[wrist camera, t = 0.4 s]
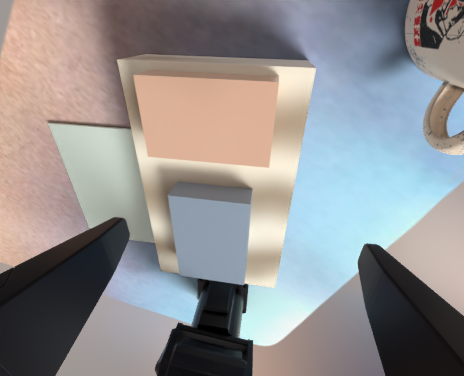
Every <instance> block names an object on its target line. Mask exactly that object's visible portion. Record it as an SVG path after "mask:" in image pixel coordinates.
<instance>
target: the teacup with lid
mask: <svg viewBox="0 0 464 376" xmlns="http://www.w3.org/2000/svg"><path fill="white" fill-rule="evenodd" d="M405 41H406V45H407V49H408V52H409V54H410V56H411V59H412V60H413V62H414V63H415V64H416V66H417V67H418V68H419V69H420V70H421V71H423V72H424V73H425V74H427V75H428V76H430V77H432V78H435V79H437V80H441V81H444V82H443V84H442V85H441V87H440V88H439V89H438V91H437V92H436V94H435V95H434V97H433V98H432V100H431V102H430V103H429V105H428V107H427V110H426V112H425V116H424V120H423V132H424V136H425V138H426V140H427V142H428V143H429V144H430V146H432V147H433V148H434V149H436V150H438V151H441V152H444V153H446V154H451V155H461V154H464V131H462V132H461V133H459V134H457V135H455V136H452V137H449V136H448V133H447V119H448V116H449V114H450V112H451V110H452V108H453V106H454V105H455V103H456V102H457V101H458V99H459V98H460V97H461V95H462V94H463V93H464V0H410V2H409V5H408V9H407V14H406V20H405Z"/></svg>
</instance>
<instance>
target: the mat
mask: <svg viewBox="0 0 464 376" xmlns="http://www.w3.org/2000/svg"><path fill="white" fill-rule="evenodd" d="M48 125H49V127H50V130H51V132H52V135H53V137H54V140H55V142H56V145H57V147H58V150H59V153H60V155H61V158H62V160H63V163H64V165H65V168H66V170H67V173H68V175H69V178H70V181H71V183H72V186H73V188H74V191H75V193H76V196H77V198H78V201H79V203H80V206H81V209H82V211H83V214H84V216H85V219H86V221H87V224H88V226H89V229H91V228H93V227H95V226H97V225H99V224H101V223H103V222H105V221H107V220H109V219H111V218H113V217H122V218H125V219H126V222H127V225H128V229H129V232H130V238H129V240H136V241H143V242H150V243H155V240H154V235H153V231H152V226H151V221H150V216H149V211H148V207H147V202H146V197H145V192H144V187H143V183H142V178H141V173H140V168H139V163H138V159H137V154H136V149H135V144H134V139H133V135H132V130H131V129H128V128H115V127H102V126H89V125H76V124H64V123H48Z"/></svg>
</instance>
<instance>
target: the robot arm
mask: <svg viewBox="0 0 464 376" xmlns="http://www.w3.org/2000/svg"><path fill="white" fill-rule="evenodd" d="M129 238H130V232H129V229H128V225H127V222H126V219H125V218H122V217H113V218H111V219H109V220H107V221H105V222H103V223H101V224H99V225H97V226H95V227H93V228H91V229H89V230H87V231H85V232H83V233H81V234H79V235H77V236H75V237H73V238H71V239H69V240H67V241H65V242H63V243H61V244H59V245H57V246H55V247H53V248H51V249H49V250H47V251H45V252H43V253H41V254H39V255H37V256H35V257H33V258H31V259H29V260H27V261H25V262H23V263H21V264H19V265H17V266H15V268H11V269H9V270H7V271H5V272H3V273H1V274H0V376H55V375H56V373H57V372H58V370H59V368H60V366H61V365H62V363H63V361H64V360H65V358H66V356H67V354H68V353H69V351H70V349H71V347H72V346H73V344H74V342H75V340H76V339H77V337H78V335H79V333H80V332H81V330H82V328H83V326H84V325H85V323H86V321H87V319H88V318H89V316H90V314H91V312H92V311H93V309H94V307H95V306H96V304H97V302H98V300H99V299H100V297H101V295H102V293H103V292H104V290H105V288H106V286H107V285H108V283H109V281H110V279H111V278H112V276H113V274H114V272H115V270H116V268H117V266H118V263H119V261H120V259H121V257H122V254H123V252H124V250H125V248H126V245H127V243H128V241H129ZM358 269H359V275H360V281H361V286H362V292H363V298H364V302H365V308H366V311H367V315H368V318H369V322H370V325H371V328H372V331H373V335H374V339H375V342H376V345H377V349H378V352H379V356H380V359H381V362H382V365H383V369H384V372H385V376H464V316H463V315H462V314H460V313H459V312H458V311H457V310H456V309H455V308H453V307H452V306H451V305H450V304H448V303H447V302H446V301H445V300H444V299H442V298H441V297H440V296H439V295H438V294H437V293H435V292H434V291H433V290H432V289H431V288H429V287H428V286H427V285H426V284H425V283H423V282H422V281H421V280H420V279H419V278H417V277H416V276H415V275H414V274H413V273H412V272H410V271H409V270H408V269H407V268H406V267H404V266H403V265H402V264H401V263H400V262H398V261H397V260H396V259H395V258H394V257H392V256H391V255H390V254H389V253H388V252H386V251H385V250H384V249H383V248H382V247H381V246H379V245H377V244H368V243H367V244H365V245H364V246H363V249H362V251H361V254H360V256H359V259H358ZM198 291H199V302H198V305H197V308H196V312H195V315H194V319H193V322H192V326H187V325H183V324H182V323H178V325H177V327H176V328H175V329H172V331H171V334H170V337H169V340H168V342H167V345H166V347H165V349H164V351H163V353H162V354H161V356H160V359H159V360H158V362H157V364H156V367H155V372H156V374H157V376H252V361H253V358H252V357H253V356H252V355H253V340H249V339H248V340H245V339H241V338H239V334H240V327H241V319H242V313H246V306H247V295H248V284H245V283H244V285H240V284H233V283H226V282H220V281H213V280H206V279H200V278H198Z"/></svg>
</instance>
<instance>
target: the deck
mask: <svg viewBox="0 0 464 376" xmlns="http://www.w3.org/2000/svg"><path fill="white" fill-rule="evenodd" d="M117 62H118V67H119V72H120V77H121V82H122V86H123V91H124V96H125V101H126V106H127V110H128V115H129V120H130V125H131V130H132V135H133V139H134V144H135V149H136V154H137V159H138V163H139V168H140V173H141V178H142V183H143V187H144V192H145V197H146V202H147V207H148V211H149V216H150V221H151V226H152V231H153V235H154V240H155V245H156V250H157V255H158V259H159V264H160V269H161V271H164V272H171V273H178V274H179V268H178V261H177V254H176V247H175V241H174V234H173V227H172V220H171V214H170V207H169V200H168V194H169V193H170V191H171V190H172V188H173V187H174V185H175V184H176V182H177V181H179V182H189V183H198V184H208V185H218V186H228V187H238V188H247V189H253V192H252V204H251V217H250V230H249V242H248V255H247V267H246V275H245V282H244V283H245V284H252V285H258V286H265V287H272V288H275V285H276V280H277V274H278V269H279V264H280V258H281V253H282V248H283V242H284V237H285V232H286V226H287V221H288V215H289V210H290V205H291V199H292V194H293V189H294V183H295V178H296V173H297V167H298V162H299V157H300V151H301V146H302V140H303V135H304V130H305V124H306V119H307V114H308V108H309V103H310V98H311V92H312V87H313V82H314V76H315V71H316V67H315V66H314V65H313V64H312V63H311V62H310V61H309V60H286V59H260V58H234V57H209V56H183V55H158V54H143V55H138V56H133V57H127V58H122V59H117ZM147 70H163V71H184V72H206V73H227V74H248V75H269V76H279V87H278V95H277V104H276V113H275V121H274V130H273V139H272V147H271V156H270V164H269V168H266V167H255V166H244V165H233V164H222V163H211V162H200V161H189V160H178V159H167V158H156V157H148V154H147V149H146V143H145V138H144V132H143V127H142V121H141V116H140V110H139V105H138V99H137V94H136V88H135V83H134V77H133V75H134V74H137V73H140V72H144V71H147Z"/></svg>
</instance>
